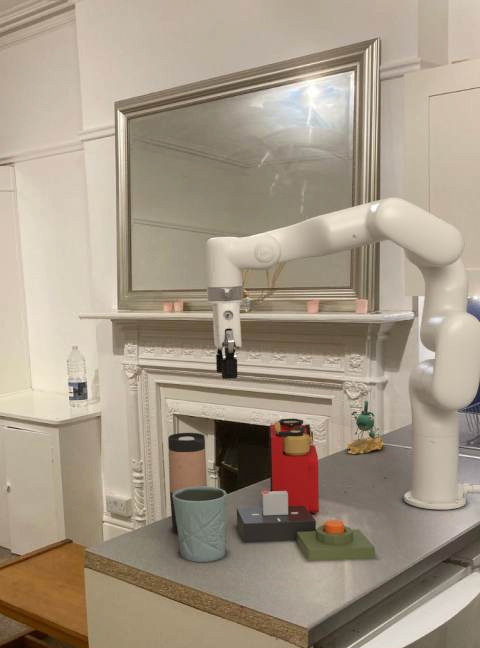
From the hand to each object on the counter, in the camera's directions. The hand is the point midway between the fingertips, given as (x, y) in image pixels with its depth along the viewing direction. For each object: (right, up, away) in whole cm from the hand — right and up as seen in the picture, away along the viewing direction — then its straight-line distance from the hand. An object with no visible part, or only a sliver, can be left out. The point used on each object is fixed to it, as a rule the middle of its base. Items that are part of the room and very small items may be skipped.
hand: (226, 375), depth 176 cm
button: (+17, -30, -23) cm, 41 cm away
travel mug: (-9, -33, -6) cm, 34 cm away
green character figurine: (+49, -20, +55) cm, 76 cm away
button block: (+17, -33, -22) cm, 43 cm away
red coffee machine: (+16, -30, +5) cm, 34 cm away
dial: (+8, -28, -12) cm, 32 cm away
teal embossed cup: (-8, -35, -20) cm, 41 cm away
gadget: (+8, -32, -11) cm, 35 cm away
